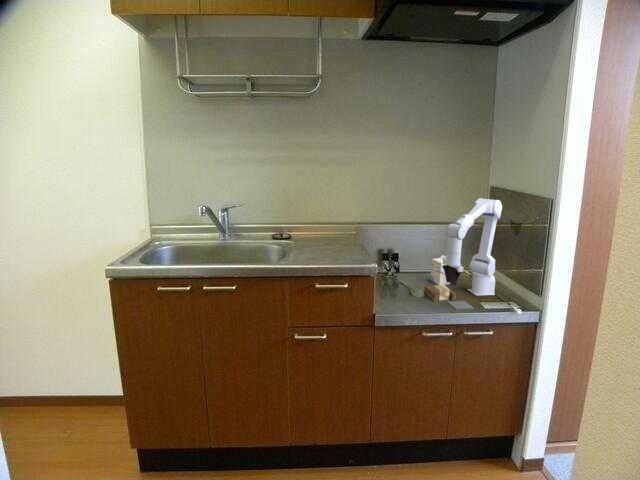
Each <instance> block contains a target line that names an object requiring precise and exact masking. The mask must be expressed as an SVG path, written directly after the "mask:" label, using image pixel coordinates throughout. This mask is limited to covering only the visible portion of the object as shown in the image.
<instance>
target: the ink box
mask: <svg viewBox="0 0 640 480" xmlns="http://www.w3.org/2000/svg"><path fill="white" fill-rule="evenodd" d="M443 258H446V255H444V254H442V255H441V256H439V257H437V258H431V265H430V266H431V268H430V275H429V281H431V282H433V283H434V284H435V285H444V286H447V285H450V282H446V276H445V271H444V269H443V265H444V264H443Z"/></svg>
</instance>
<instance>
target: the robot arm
mask: <svg viewBox="0 0 640 480" xmlns="http://www.w3.org/2000/svg"><path fill="white" fill-rule="evenodd" d="M502 210H503V205H502V202H501V200H499V199H490V198H489V199H488V198H481V197H480V198H477V199H476V201H475V202H474V206H473V208H472V209H471V210H470V211H469V212H468V213H467V214H466V213H465V214H462V215H461V216H460V217H459V218H458V219H457V220H456V221H455V222H454V223H450V224H448V225H446V228H445V231H444V234H445V236H446V237H445V238H446V241H447V244H446V245H447V246H446V254H445V256H446V257H445V258H443V264H444V265H443V269H444V271H445V276H446V282H450V284H449V285H451V286H456V285H457V282H458V279H459V277H460V275H461V274H462V273H463V272H464V266H462V264H461V257H462V246H463V239H464V238H465V237H466V234H467V233H468V230H469V229H470V228H471V227H472V226H474V224H475V220H476V219H478V218H479V217H480V216H481V217H482V218H483V219H484V223H483V227H482V228H483V229H482V234H481V238H480V243H479V247H478V248H479V249H478V253H476V254H475V255H473V256H472V258H471V261H470V263H469V270H470V271H471V274H472V282H471V288H467V291H469V292H471V294H473V295H475V296H476V297H477V296H495V295H496V294H495V287H496V277H495V276H494V273H495V271H496V259H495V258H494V257H493V256H492V255H491V254H492V248H493V242H494V239H495V234H496V233H495V232H496V227H497V222H498V220H499V219H501V215H502Z"/></svg>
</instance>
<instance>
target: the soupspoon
mask: <svg viewBox="0 0 640 480" xmlns="http://www.w3.org/2000/svg"><path fill="white" fill-rule="evenodd" d="M398 283H401V284H403V285H406V286H407V287H409V288H410V291H409V292H410V294H411V296H413V297H416V298H424V297H426V294H425V293H424V290H423V289H420V288H414V287H413V286H411V285H409V284H408V283H406V282H404V281H403V280H402V279H399V280H398Z"/></svg>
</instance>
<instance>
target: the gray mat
mask: <svg viewBox="0 0 640 480" xmlns="http://www.w3.org/2000/svg"><path fill="white" fill-rule="evenodd" d="M446 302H447V304H448V305H449V306H451V307H452V308H453V309H455V310H473V309H474V306H472V305H470V304H469V303H468V302H467V301H465V300H450V301H449V300H446Z"/></svg>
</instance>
